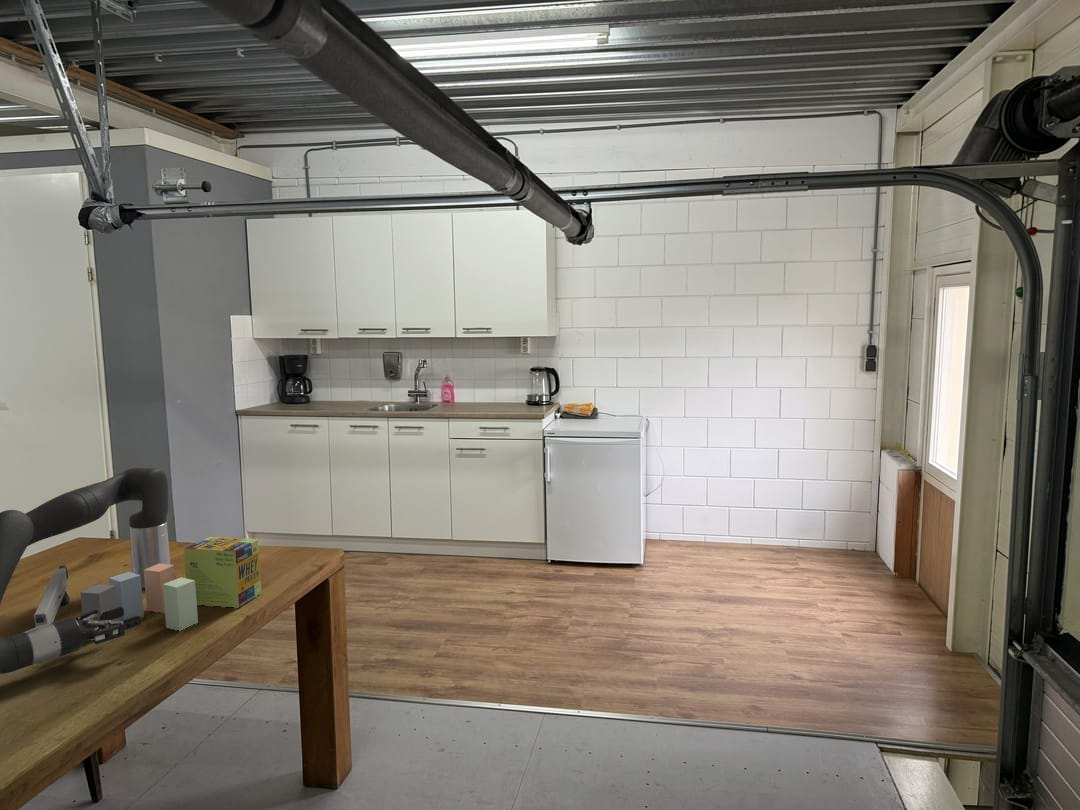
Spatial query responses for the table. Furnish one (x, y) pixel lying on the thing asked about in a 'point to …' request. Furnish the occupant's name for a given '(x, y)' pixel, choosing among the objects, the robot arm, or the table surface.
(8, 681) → the table surface
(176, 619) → the sage block
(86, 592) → the grey tall block
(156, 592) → the terracotta block
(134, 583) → the slate block
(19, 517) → the robot arm
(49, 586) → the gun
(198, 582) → the protein box
